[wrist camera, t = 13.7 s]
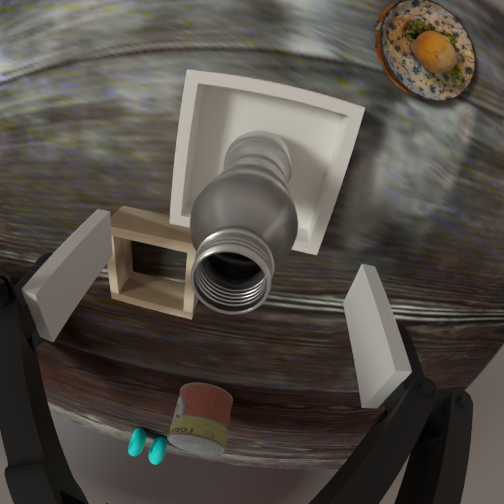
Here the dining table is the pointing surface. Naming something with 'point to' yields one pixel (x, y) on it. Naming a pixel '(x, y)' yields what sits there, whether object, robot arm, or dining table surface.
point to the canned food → (201, 419)
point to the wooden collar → (144, 286)
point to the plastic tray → (272, 120)
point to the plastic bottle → (243, 224)
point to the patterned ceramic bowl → (425, 50)
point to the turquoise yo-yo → (155, 450)
